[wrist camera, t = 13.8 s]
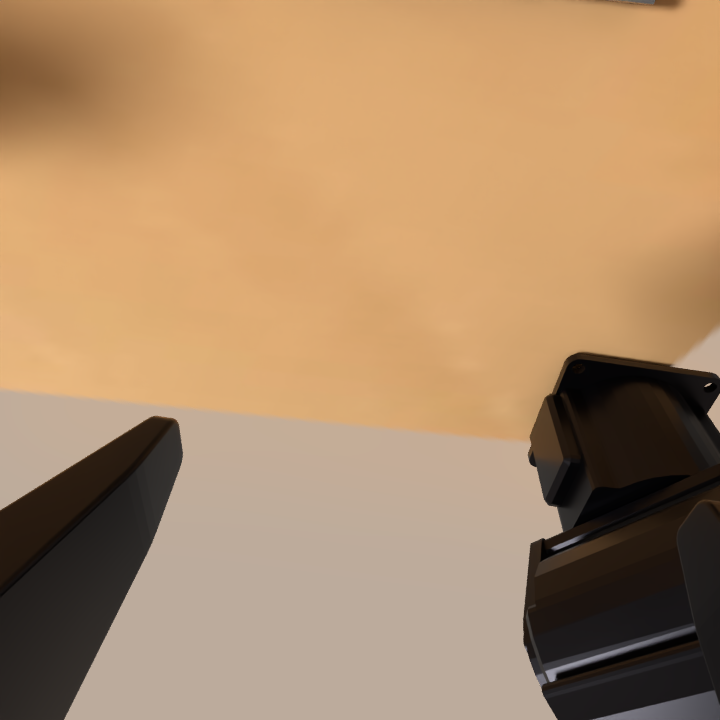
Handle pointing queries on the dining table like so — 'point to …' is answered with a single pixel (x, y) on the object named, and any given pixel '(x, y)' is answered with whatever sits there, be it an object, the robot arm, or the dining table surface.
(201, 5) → the dining table surface
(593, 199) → the dining table surface
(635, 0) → the grey tray with blocks
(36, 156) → the dining table surface
